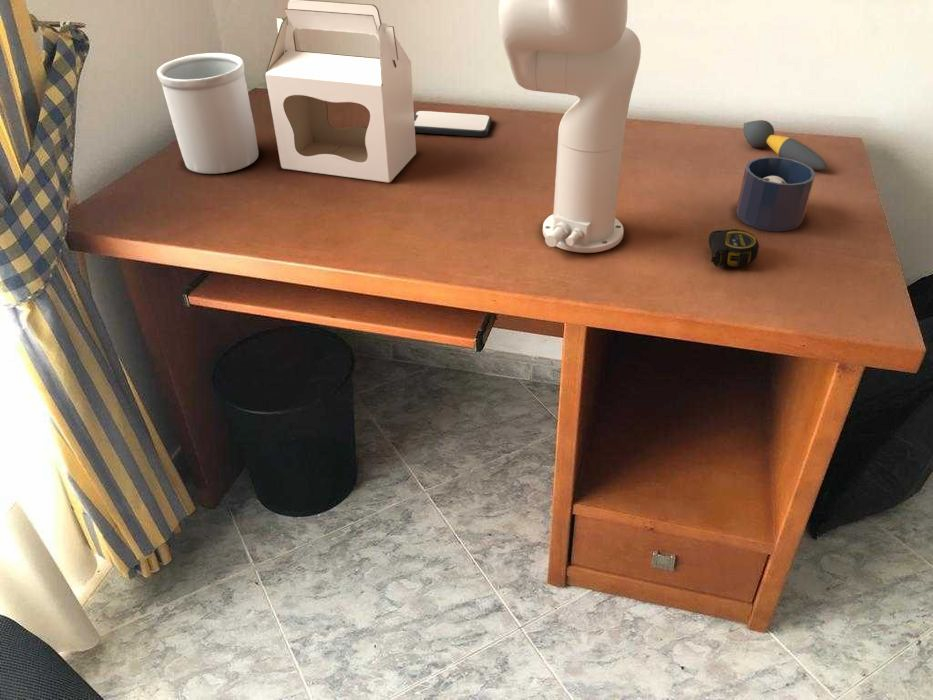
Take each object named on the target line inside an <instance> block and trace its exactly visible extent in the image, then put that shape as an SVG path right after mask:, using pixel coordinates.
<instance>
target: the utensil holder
mask: <svg viewBox="0 0 933 700" xmlns="http://www.w3.org/2000/svg"><path fill="white" fill-rule="evenodd" d="M156 76H157V79H158V81H159V83H160V84H161V87H162V92H163V95H164V98H165V101H166V106H167V108H168V112H169V116H170V119H171V123H172V127H173V130H174V134H175V137H176V141H177V144H178V147H179V149H180V154H181V157H182V159H183V162H184V165H185V167H186V169H188V170H189V171H191V172H194V173H197V174H204V175H206V174H207V175H220V174H227V173H231V172H236V171H238V170H242V169H244V168H246V167H248V166H250V165H252V164H253V163H255V162H256V160H257V159H258V158H259V146H258V140H257V134H256V128H255V127H256V126H255V122H254V117H253V112H252V108H251V102H250V96H249V91H248V85H247V81H246V77H245V76H246V75H245V63H244V60H243V59H242V58H241V57H240V56H238V55H235V54H232V53H225V52H206V53H196V54H190V55H186V56H182V57H179V58H176V59H172V60H170V61H167V62H165V63H163V64H162V65H160V66H159V67H158V68H157V70H156Z"/></svg>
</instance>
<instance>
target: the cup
mask: <svg viewBox="0 0 933 700" xmlns="http://www.w3.org/2000/svg"><path fill="white" fill-rule="evenodd" d="M744 167H745V168H744V172H743V176H742V182H741V186H740V190H739V194H738V195H739V196H738V200H737V204H736V211H735V214H736V216H737V218H738V219H739V221H741V222H742V223H744V224H745V225H747V226H749V227H752V228H754V229H758V230H761V231H767V232H789V231H792V230H796V229H797V228H799V227H800V226H801V225H802V224H803V220H804V218H805V215H806V210H807V208H808V204H809V200H810V197H811V193H812V190H813V186H814V182H815V180H816V173H815V170H813V169H812V168H810V167H809V166H807V165H806V164H804V163H801V162H799V161H796V160H793V159H788V158H782V157H780V156H763V157H756V158H754V159H752V160H748V162H747V163H746V165H745V166H744ZM767 176H778V177H781V178H782V179H783V180H784V181H785V182H786V183H787V184H785V183H776V182H771V181H767V180H764V179H762V178H765V177H767Z"/></svg>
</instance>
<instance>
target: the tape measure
mask: <svg viewBox="0 0 933 700" xmlns="http://www.w3.org/2000/svg"><path fill="white" fill-rule="evenodd" d="M708 247H709V248H710V251H711V260H710V261H711V263H713V265H714V266H716V267H724V266H727V267H732V268H743V267H746V266H750V265H751V264H753V263H754V262H755V261H756V259H757V257H758V255H759V250H760V249H759V248H760V244H759V241H758V238H757V237H756V236H755V235H754V234H753V233H751V232H749V231H746V230H742V229H737V228H731V229H722V230H721V229H720V230H714V231H711V232H709V235H708Z"/></svg>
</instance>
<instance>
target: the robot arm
mask: <svg viewBox="0 0 933 700" xmlns="http://www.w3.org/2000/svg"><path fill="white" fill-rule="evenodd" d="M628 9H629V8H628V0H498V17H497V18H498V29H499V34H500V37H501V38H500V39H501V42H502V45H503V48H504V51H505V55H506V57H507V61H508V64H509V67H510V70H511V73H512V76H513V78H514V81H515V83H517V85H518V86H520V87H521V88H522V89H524V90H527V91H531V92H532V91H533V92H540V93H548V94H549V93H550V94H560V95H561V94H562V95H568V96H574V97H577V98H578V99H577V100H576V101H575V102H574V103H573V104H572V105H571V106H570V107H569V108H568V109H567V110H566V112H565V113H564V114H563V116H562V118H561V120H560V122H559V126H558V131H557V132H558V134H557V147H556V150H557V151H556V165H555V182H554V197H553V198H554V199H553V212H552V214H551V215H549V216H547V218H546V219H545V220H544V221H543V223H542V235H543V237H544V242H545V244H546V245H547V247H550V248H554V247H556V248H559V249H561V250H563V251H568V252H572V253H578V254H592V253H593V254H594V253H599V252H600V253H601V252H604V251H607V250H610V249H612V248H613V249H614V248H615V247H616V246H617V245H619V244H620V243H621V242H622V240H623V238H624V231H625V229H624V225H623V224H622V222H621V221H620V220H619V219H618V218H616V213H617V204H618V195H619V186H620V178H621V171H622V170H621V169H622V160H623V159H622V158H623V153H624V142H625V135H626V127H627V119H628V113H629V107H630V102H631V98H632V93H633V90H634V86H635V83H636V78H637V75H638V71H639V68H640V63H641V54H642V46H641V41H640V39H639V37H638V35H637V33H636V32H634V31H633V30H632V29H630V28H629V27H627V21H628Z"/></svg>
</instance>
